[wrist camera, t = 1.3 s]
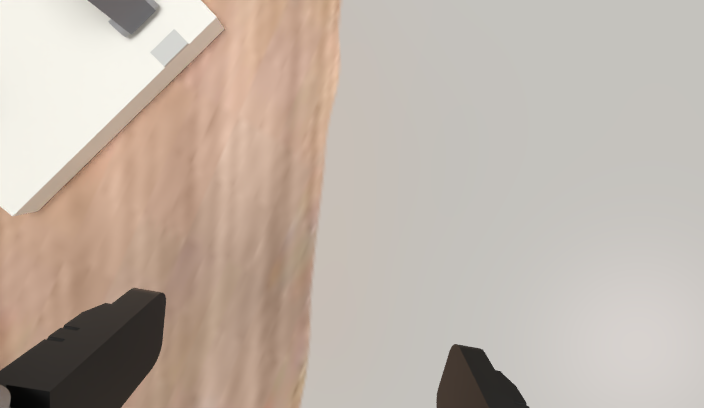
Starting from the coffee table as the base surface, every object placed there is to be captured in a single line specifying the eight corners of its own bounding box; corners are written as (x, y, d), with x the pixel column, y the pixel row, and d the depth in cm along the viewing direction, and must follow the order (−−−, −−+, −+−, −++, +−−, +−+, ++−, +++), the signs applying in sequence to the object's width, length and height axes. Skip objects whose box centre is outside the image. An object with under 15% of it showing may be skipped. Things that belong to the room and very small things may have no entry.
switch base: (38, 211, 35) (9, 216, 32) (-130, 71, 32) (-180, 61, 28) (224, 29, 34) (215, 15, 31) (75, -131, 31) (47, -164, 28)
